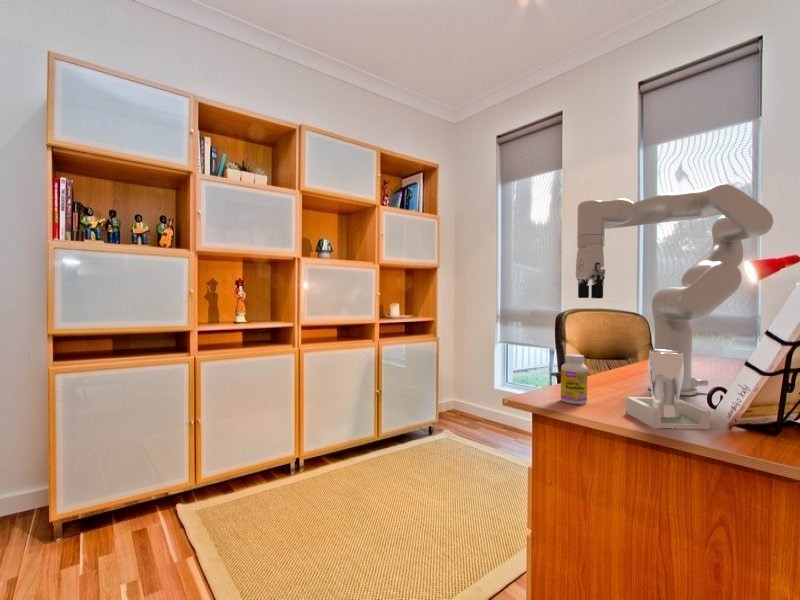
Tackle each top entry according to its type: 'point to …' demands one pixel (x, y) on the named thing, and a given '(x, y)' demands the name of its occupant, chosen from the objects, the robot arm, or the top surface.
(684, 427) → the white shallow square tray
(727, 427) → the top surface
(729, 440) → the top surface
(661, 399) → the beer glass
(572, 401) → the supplement bottle
